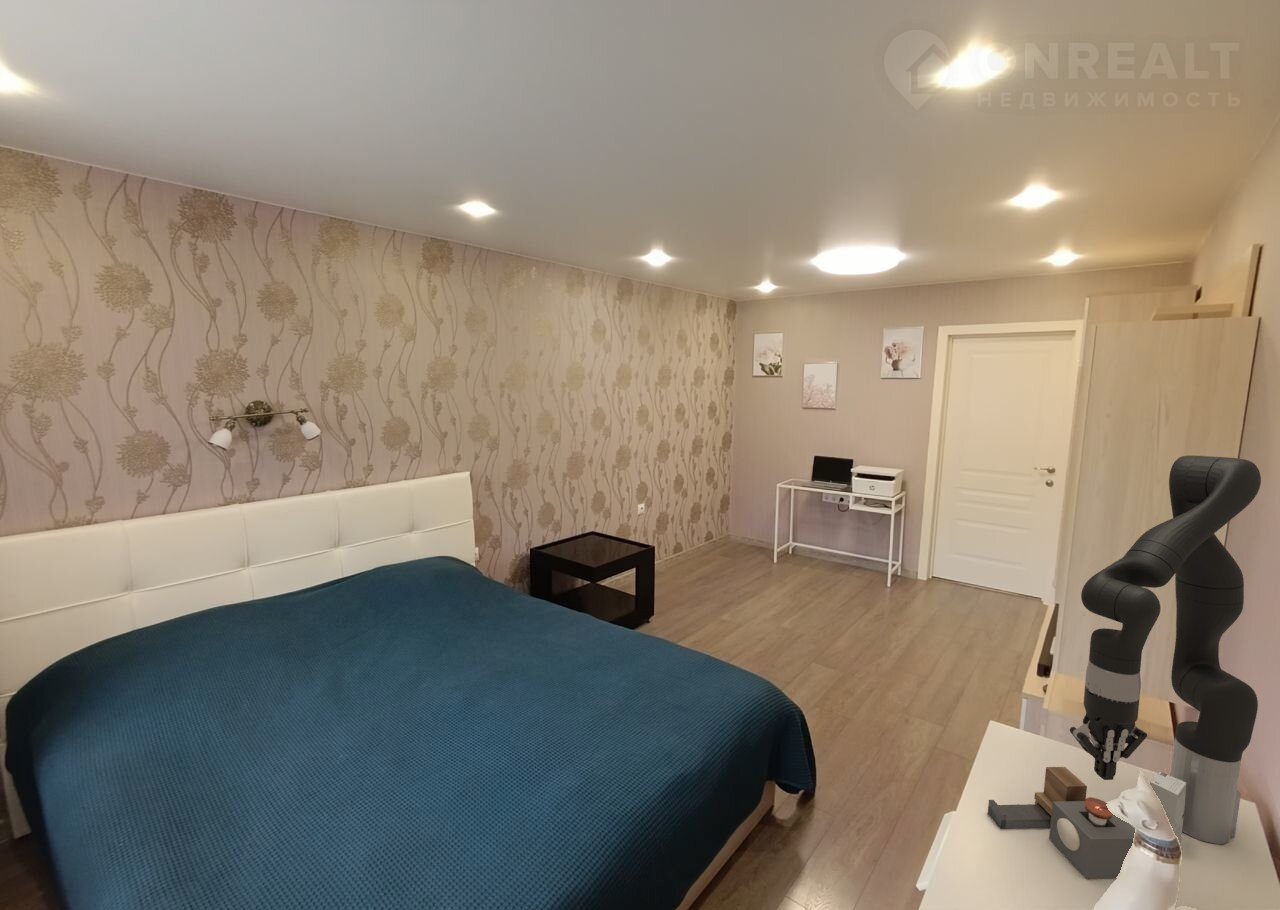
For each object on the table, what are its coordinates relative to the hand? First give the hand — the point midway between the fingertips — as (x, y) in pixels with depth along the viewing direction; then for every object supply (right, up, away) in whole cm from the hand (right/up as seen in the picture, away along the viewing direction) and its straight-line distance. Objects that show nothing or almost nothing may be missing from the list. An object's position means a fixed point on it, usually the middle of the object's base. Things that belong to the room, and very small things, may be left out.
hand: (1104, 776), depth 102 cm
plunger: (0, -13, +2) cm, 13 cm away
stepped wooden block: (+1, -15, +11) cm, 19 cm away
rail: (-3, -16, +11) cm, 19 cm away
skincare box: (+17, -16, +7) cm, 24 cm away
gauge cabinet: (0, -17, +2) cm, 17 cm away
